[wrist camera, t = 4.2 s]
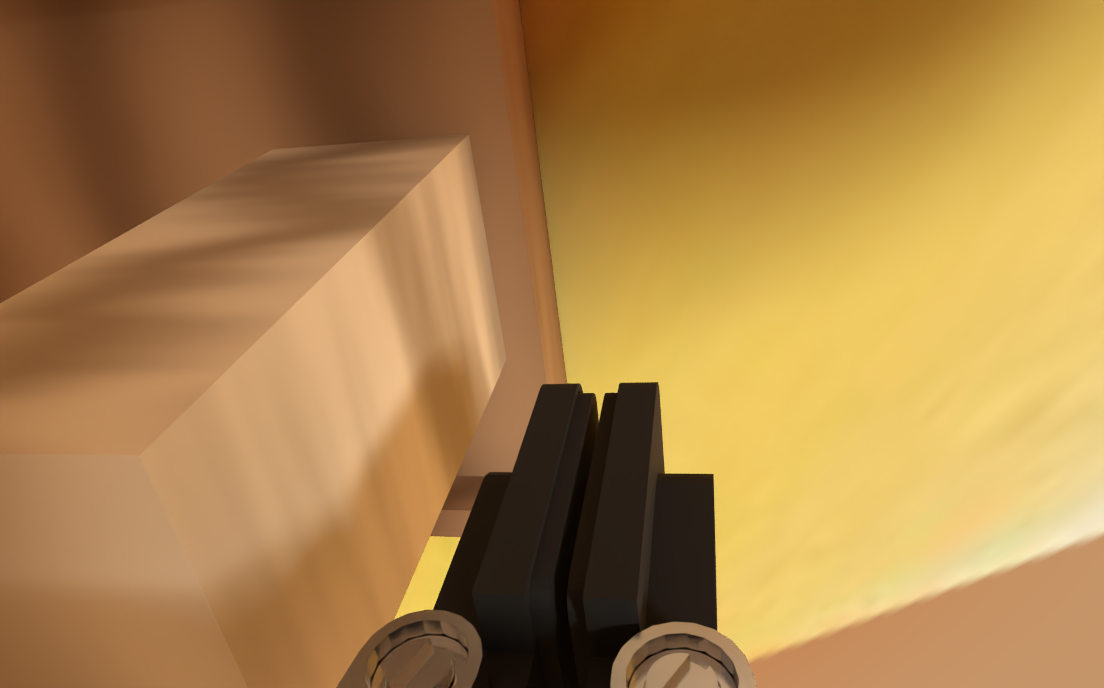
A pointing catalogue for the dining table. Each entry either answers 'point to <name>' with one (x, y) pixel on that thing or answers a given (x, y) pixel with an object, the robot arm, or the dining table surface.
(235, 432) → the beech block
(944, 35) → the dining table surface
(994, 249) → the dining table surface
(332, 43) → the walnut tray
